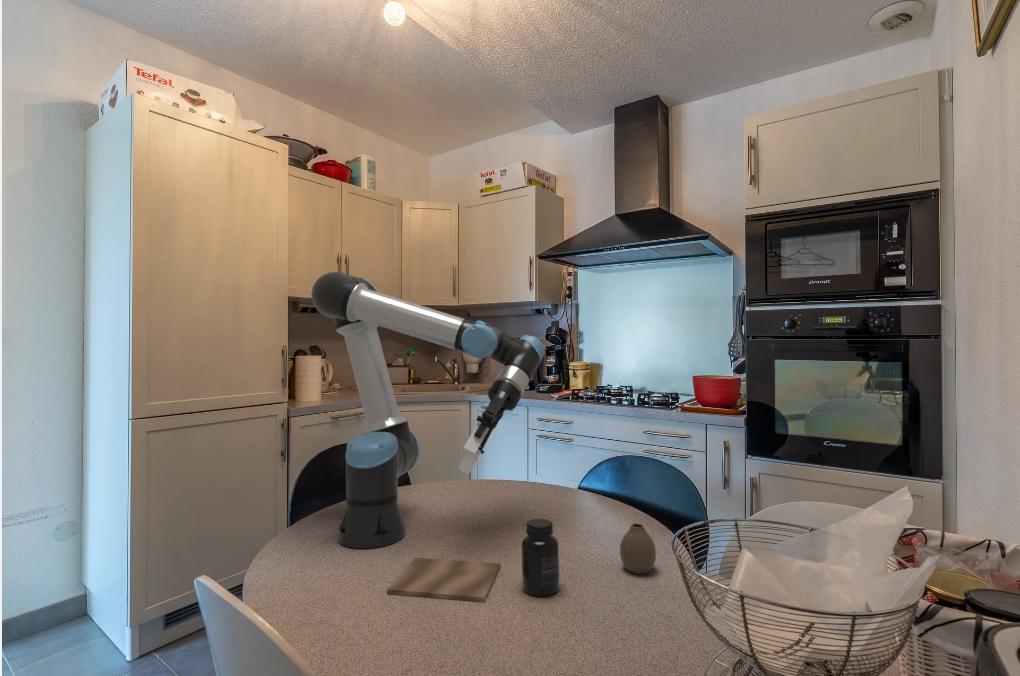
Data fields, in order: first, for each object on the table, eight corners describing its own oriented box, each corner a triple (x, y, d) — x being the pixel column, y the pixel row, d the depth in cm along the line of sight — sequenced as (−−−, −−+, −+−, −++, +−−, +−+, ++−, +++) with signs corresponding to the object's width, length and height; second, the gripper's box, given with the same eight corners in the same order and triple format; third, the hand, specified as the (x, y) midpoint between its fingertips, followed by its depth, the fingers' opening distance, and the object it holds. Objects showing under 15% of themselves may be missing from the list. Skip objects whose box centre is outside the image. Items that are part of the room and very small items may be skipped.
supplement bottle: (559, 580, 96) (558, 516, 96) (559, 598, 89) (558, 529, 89) (523, 579, 96) (522, 516, 97) (520, 597, 90) (519, 528, 90)
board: (386, 593, 91) (386, 589, 91) (415, 561, 105) (415, 557, 105) (484, 602, 88) (484, 597, 88) (500, 567, 102) (500, 563, 102)
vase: (657, 579, 96) (657, 532, 96) (620, 576, 97) (619, 530, 98) (654, 563, 103) (654, 520, 103) (619, 561, 104) (619, 518, 104)
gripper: (532, 370, 113) (488, 450, 101) (512, 417, 133) (474, 487, 121) (502, 355, 113) (455, 432, 102) (487, 403, 134) (446, 472, 122)
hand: (465, 462), depth 111 cm, fingers open, 13 cm apart
